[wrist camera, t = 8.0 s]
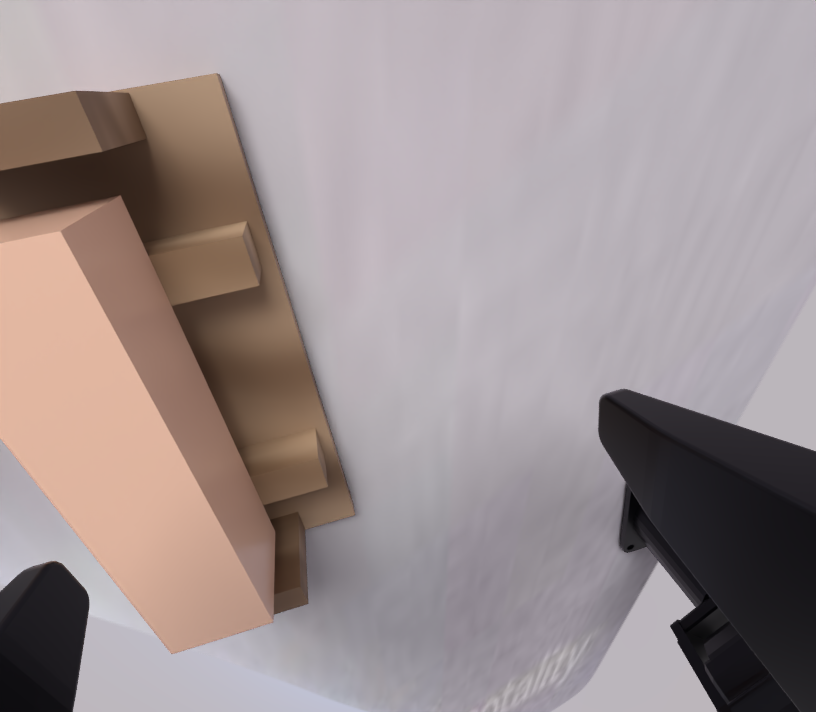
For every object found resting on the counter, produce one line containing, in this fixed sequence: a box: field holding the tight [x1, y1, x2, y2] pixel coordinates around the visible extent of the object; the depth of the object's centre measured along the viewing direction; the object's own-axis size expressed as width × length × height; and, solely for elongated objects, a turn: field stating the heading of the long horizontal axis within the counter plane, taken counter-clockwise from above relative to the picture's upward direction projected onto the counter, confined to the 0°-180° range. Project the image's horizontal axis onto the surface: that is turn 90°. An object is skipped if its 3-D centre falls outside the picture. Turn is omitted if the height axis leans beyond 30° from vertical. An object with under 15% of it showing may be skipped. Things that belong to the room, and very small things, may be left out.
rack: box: [0, 73, 355, 614], centre depth 16 cm, size 19×10×5 cm, turn 9°
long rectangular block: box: [0, 195, 275, 654], centre depth 14 cm, size 14×4×4 cm, turn 10°
